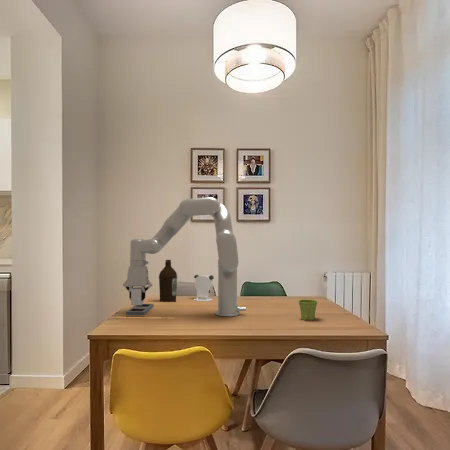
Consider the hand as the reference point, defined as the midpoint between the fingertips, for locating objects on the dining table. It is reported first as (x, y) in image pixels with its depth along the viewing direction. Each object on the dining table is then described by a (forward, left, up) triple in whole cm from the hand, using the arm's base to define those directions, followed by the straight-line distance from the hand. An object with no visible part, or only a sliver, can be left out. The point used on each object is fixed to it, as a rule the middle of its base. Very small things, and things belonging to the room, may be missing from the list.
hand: (137, 299), depth 204 cm
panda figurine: (-29, -47, -8) cm, 56 cm away
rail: (0, -6, -8) cm, 10 cm away
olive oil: (-9, -36, -8) cm, 38 cm away
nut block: (0, 0, -2) cm, 2 cm away
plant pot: (-84, +5, -8) cm, 85 cm away
